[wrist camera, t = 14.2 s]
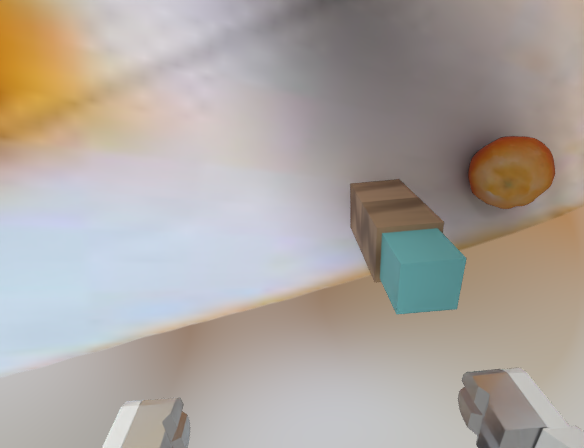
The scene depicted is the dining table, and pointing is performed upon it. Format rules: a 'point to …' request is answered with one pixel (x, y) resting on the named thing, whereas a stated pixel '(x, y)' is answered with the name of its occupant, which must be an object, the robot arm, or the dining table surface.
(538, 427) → the robot arm
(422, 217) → the tower top
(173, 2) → the dining table surface
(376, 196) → the block
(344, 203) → the dining table surface
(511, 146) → the fruit
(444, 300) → the teal block
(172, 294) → the dining table surface
